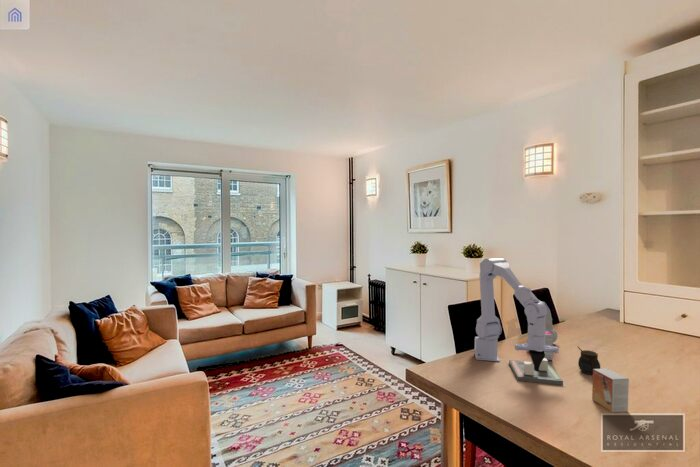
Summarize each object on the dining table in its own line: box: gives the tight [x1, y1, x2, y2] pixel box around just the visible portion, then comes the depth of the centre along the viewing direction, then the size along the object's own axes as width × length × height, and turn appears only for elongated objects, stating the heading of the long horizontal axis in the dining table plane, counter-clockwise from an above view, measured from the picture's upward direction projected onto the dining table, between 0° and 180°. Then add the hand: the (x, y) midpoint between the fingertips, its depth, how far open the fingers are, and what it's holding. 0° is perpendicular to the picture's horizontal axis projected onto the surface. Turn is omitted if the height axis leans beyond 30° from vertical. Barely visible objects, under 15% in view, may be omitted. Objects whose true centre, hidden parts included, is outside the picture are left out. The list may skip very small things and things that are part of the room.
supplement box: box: [544, 331, 554, 362], centre depth 151 cm, size 6×6×12 cm
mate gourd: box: [577, 346, 601, 376], centre depth 137 cm, size 7×8×10 cm
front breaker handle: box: [522, 360, 534, 375], centre depth 131 cm, size 3×3×4 cm
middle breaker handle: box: [539, 358, 549, 371], centre depth 135 cm, size 3×3×4 cm
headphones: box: [526, 308, 559, 344], centre depth 165 cm, size 20×8×19 cm, turn 136°
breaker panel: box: [508, 359, 564, 386], centre depth 136 cm, size 15×17×2 cm
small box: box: [591, 368, 630, 413], centre depth 111 cm, size 8×6×10 cm
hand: (536, 370), depth 131 cm, fingers closed
